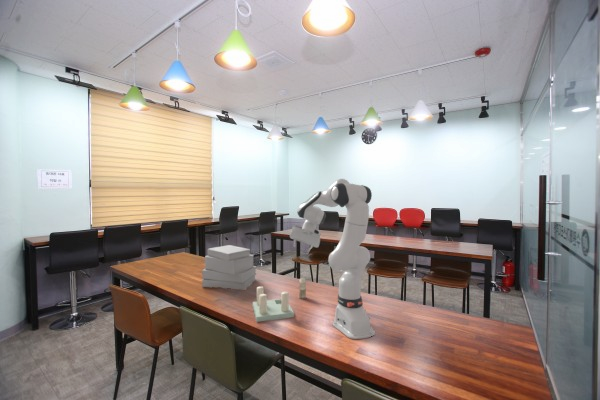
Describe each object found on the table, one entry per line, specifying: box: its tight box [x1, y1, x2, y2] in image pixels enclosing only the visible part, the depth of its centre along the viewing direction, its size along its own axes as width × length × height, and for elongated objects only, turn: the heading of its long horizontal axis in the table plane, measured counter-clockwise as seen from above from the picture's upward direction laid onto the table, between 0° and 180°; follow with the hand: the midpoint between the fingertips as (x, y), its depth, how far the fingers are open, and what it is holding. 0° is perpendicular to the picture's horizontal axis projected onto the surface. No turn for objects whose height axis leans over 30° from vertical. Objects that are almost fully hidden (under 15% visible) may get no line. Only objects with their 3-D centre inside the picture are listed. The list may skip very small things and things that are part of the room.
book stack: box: [201, 244, 257, 291], centre depth 196 cm, size 30×35×26 cm
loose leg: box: [298, 277, 307, 300], centre depth 169 cm, size 4×4×12 cm
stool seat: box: [252, 286, 295, 323], centre depth 150 cm, size 20×20×12 cm
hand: (300, 249), depth 171 cm, fingers open, 8 cm apart
